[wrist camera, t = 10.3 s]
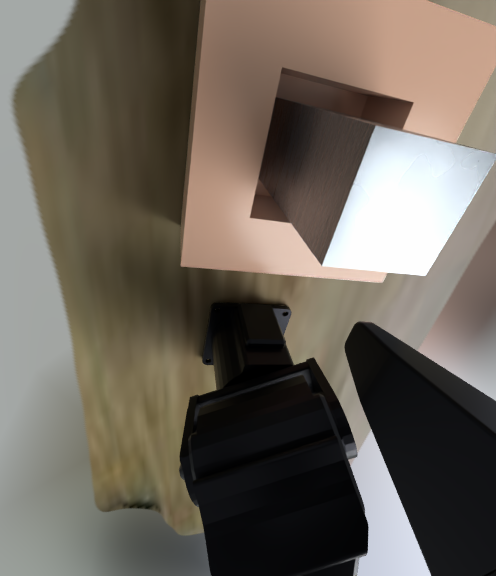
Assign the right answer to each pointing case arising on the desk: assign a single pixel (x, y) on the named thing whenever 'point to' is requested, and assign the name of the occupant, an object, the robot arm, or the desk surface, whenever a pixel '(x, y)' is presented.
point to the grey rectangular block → (367, 187)
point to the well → (316, 92)
